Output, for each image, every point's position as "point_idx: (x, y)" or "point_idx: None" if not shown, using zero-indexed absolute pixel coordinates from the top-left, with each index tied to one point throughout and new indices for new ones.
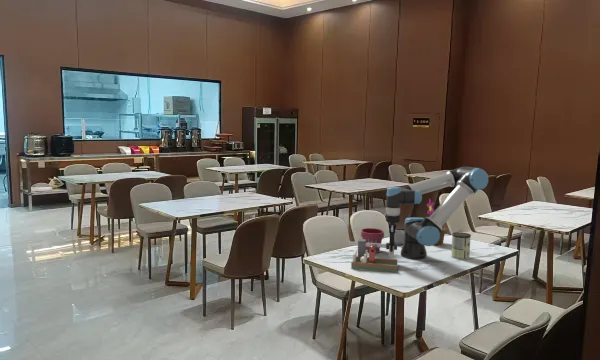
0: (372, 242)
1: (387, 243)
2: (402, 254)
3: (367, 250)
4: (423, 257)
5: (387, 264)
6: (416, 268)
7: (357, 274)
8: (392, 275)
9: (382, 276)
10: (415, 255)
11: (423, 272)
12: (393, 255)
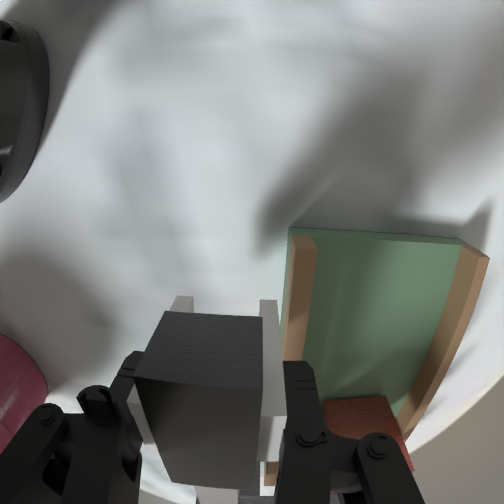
0: (20, 422)
1: (216, 481)
2: (6, 192)
3: (45, 398)
4: (29, 28)
5: (349, 320)
6: (332, 50)
7: (451, 414)
8: (499, 266)
9: (500, 318)
10: (29, 74)
11: (422, 25)
12: (277, 313)
